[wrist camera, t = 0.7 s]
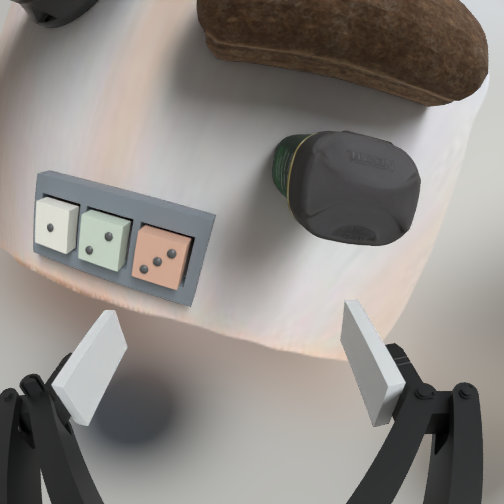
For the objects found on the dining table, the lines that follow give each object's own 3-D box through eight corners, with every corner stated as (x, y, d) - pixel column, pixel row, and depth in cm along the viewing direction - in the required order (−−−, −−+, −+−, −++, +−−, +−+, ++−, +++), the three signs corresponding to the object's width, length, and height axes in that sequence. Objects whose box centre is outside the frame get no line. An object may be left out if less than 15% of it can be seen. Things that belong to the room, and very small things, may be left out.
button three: (138, 267, 36) (131, 276, 34) (145, 224, 34) (137, 231, 32) (181, 281, 37) (176, 290, 34) (191, 238, 35) (186, 245, 32)
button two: (87, 251, 36) (77, 258, 33) (91, 209, 34) (80, 214, 31) (124, 263, 36) (116, 272, 34) (130, 221, 34) (122, 227, 32)
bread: (220, -24, 25) (204, -95, 10) (439, 32, 26) (507, 5, 11) (201, 65, 30) (167, 15, 15) (436, 117, 31) (516, 117, 17)
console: (44, 245, 38) (33, 251, 35) (49, 170, 34) (37, 173, 31) (194, 295, 41) (190, 306, 38) (216, 215, 37) (213, 221, 34)
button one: (44, 236, 35) (34, 242, 32) (46, 196, 33) (35, 201, 30) (75, 247, 35) (65, 254, 33) (79, 206, 33) (68, 211, 31)
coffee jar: (268, 194, 36) (283, 245, 18) (276, 130, 33) (303, 116, 16) (343, 205, 36) (414, 261, 19) (353, 144, 33) (439, 152, 16)
